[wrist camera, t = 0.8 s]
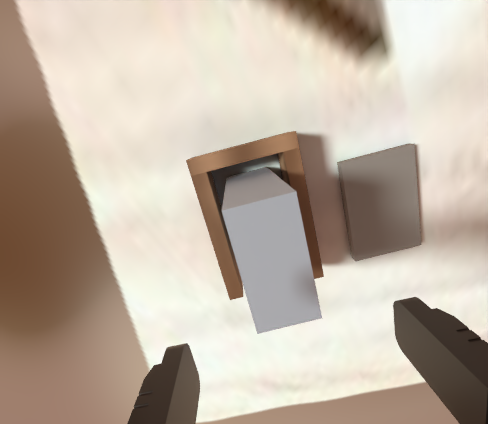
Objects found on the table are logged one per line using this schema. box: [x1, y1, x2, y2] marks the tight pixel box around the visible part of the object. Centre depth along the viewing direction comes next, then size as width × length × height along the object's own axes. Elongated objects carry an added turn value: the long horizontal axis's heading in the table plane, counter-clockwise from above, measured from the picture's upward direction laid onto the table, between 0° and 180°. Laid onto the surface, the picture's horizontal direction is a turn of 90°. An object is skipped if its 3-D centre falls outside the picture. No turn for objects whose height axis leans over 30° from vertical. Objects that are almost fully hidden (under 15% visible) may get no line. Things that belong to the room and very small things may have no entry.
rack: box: [186, 131, 324, 300], centre depth 28 cm, size 10×16×4 cm
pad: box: [337, 144, 421, 261], centre depth 30 cm, size 8×12×1 cm, turn 14°
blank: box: [222, 167, 322, 334], centre depth 23 cm, size 4×9×14 cm, turn 14°
